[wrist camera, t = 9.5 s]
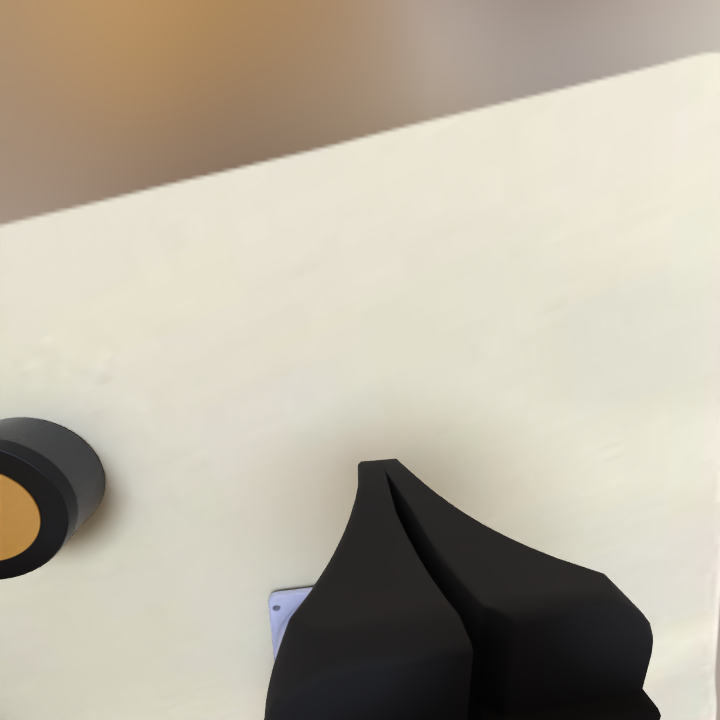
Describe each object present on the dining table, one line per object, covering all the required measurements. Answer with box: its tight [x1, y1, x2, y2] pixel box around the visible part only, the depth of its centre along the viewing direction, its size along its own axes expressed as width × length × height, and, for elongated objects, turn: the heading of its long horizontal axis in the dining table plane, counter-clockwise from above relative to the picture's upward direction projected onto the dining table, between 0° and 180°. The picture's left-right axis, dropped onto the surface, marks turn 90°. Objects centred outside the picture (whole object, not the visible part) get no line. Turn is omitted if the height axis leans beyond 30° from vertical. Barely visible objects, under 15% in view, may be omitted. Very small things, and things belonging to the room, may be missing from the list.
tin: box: [0, 418, 105, 579], centre depth 18 cm, size 8×8×3 cm
